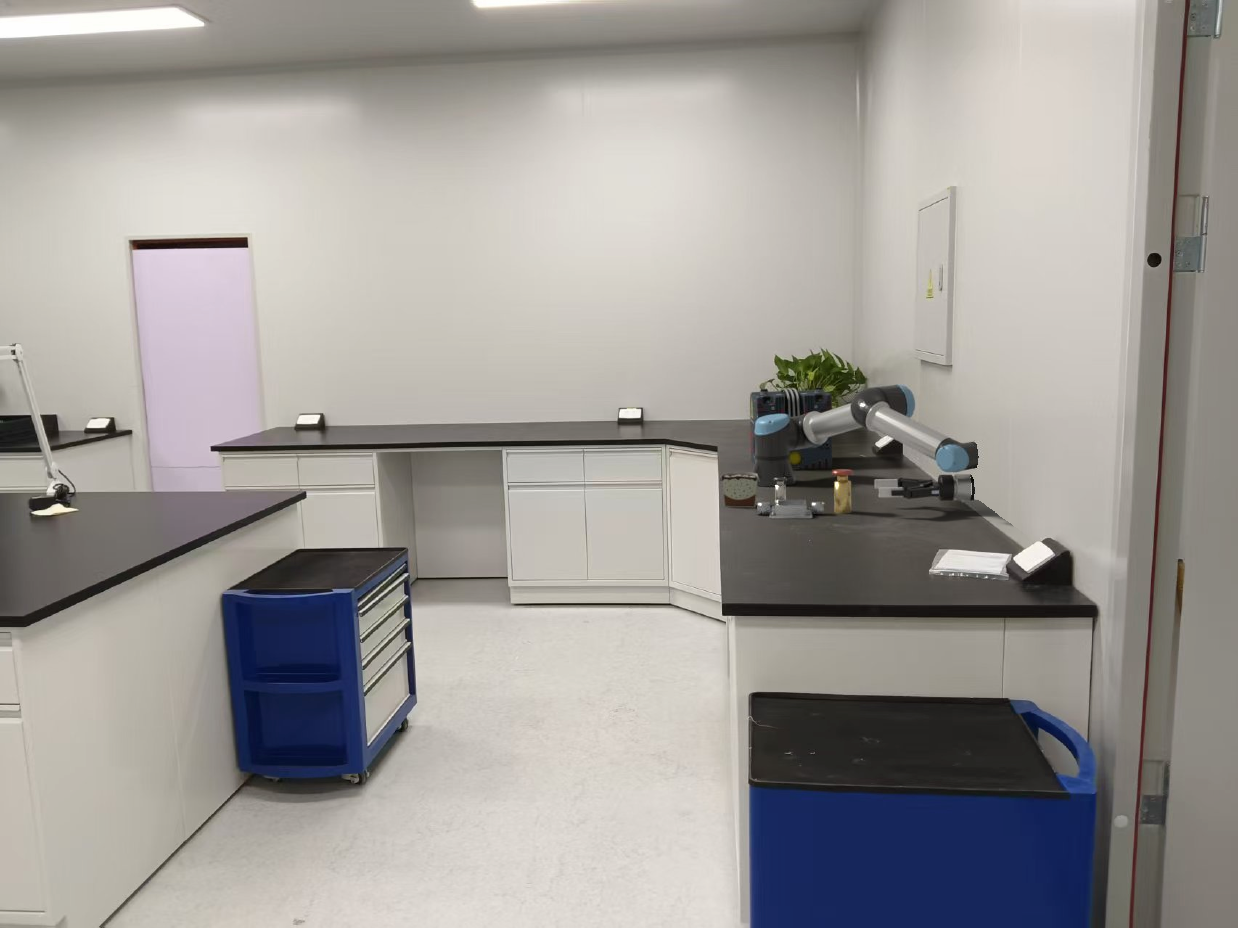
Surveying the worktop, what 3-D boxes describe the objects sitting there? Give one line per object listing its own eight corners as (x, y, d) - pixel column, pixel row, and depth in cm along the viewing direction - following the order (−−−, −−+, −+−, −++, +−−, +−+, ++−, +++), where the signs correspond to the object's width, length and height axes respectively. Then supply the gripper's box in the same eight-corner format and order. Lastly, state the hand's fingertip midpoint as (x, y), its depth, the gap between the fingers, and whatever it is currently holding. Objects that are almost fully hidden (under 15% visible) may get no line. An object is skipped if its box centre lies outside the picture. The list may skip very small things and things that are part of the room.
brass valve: (831, 510, 288) (831, 469, 287) (852, 509, 287) (852, 469, 285) (832, 514, 283) (832, 472, 281) (853, 514, 281) (853, 472, 280)
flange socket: (758, 510, 292) (757, 498, 292) (823, 509, 289) (823, 498, 288) (756, 518, 280) (756, 506, 280) (824, 518, 277) (824, 505, 277)
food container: (762, 503, 302) (762, 471, 301) (760, 507, 296) (759, 475, 295) (723, 503, 305) (722, 471, 304) (719, 506, 300) (719, 474, 298)
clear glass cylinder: (774, 504, 300) (773, 476, 299) (787, 504, 299) (786, 476, 298) (773, 506, 296) (773, 479, 295) (787, 506, 295) (786, 478, 294)
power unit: (750, 460, 392) (749, 385, 387) (819, 457, 391) (819, 383, 386) (758, 471, 364) (756, 390, 360) (832, 468, 363) (831, 388, 359)
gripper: (960, 509, 267) (880, 509, 271) (946, 492, 291) (873, 493, 295) (961, 482, 266) (880, 482, 269) (946, 467, 290) (873, 468, 294)
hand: (876, 488), depth 282 cm, fingers open, 13 cm apart
